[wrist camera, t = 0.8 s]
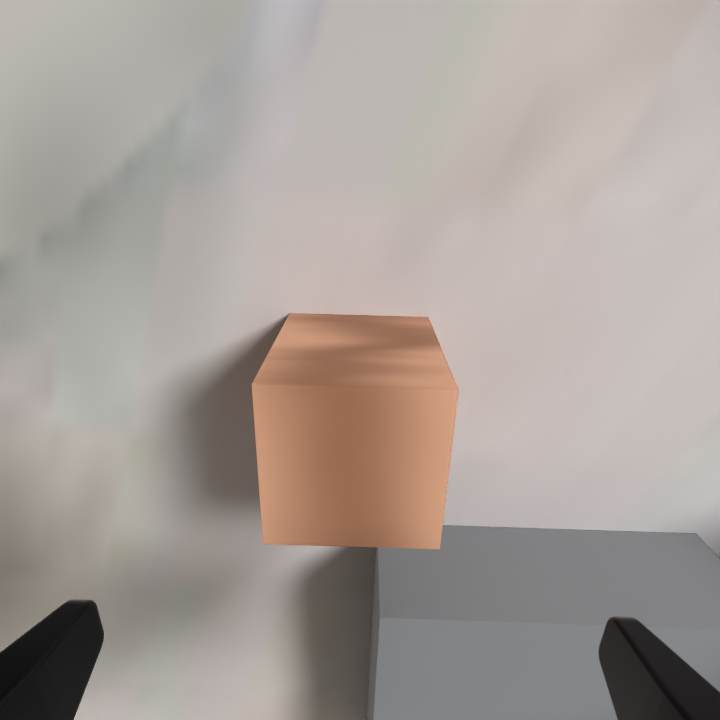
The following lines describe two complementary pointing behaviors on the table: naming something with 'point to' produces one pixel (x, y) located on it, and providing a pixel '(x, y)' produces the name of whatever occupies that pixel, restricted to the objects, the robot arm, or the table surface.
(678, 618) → the gray block
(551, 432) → the table surface
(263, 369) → the terracotta cube
